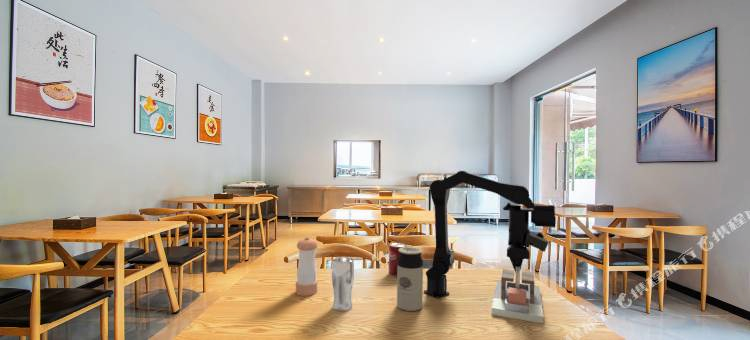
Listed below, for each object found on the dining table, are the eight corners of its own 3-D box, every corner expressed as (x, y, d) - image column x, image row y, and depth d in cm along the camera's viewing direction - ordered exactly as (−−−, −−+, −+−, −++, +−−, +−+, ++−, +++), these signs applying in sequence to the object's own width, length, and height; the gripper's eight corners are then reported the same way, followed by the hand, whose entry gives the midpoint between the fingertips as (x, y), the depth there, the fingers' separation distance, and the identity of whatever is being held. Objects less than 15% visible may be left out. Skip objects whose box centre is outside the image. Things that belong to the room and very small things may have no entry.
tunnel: (533, 304, 105) (534, 281, 105) (501, 298, 109) (501, 277, 109) (532, 293, 115) (533, 272, 115) (502, 288, 118) (502, 268, 118)
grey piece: (529, 313, 98) (530, 274, 98) (504, 309, 101) (505, 271, 101) (528, 303, 105) (529, 267, 105) (505, 300, 108) (506, 264, 108)
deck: (543, 323, 97) (543, 316, 97) (491, 314, 102) (491, 307, 102) (538, 291, 122) (538, 286, 122) (497, 285, 127) (497, 280, 127)
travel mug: (407, 299, 113) (408, 245, 113) (427, 306, 107) (428, 249, 107) (391, 306, 107) (392, 249, 107) (411, 314, 102) (412, 254, 102)
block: (526, 312, 99) (526, 295, 99) (507, 309, 101) (508, 292, 101) (525, 305, 104) (526, 289, 104) (508, 303, 106) (508, 287, 106)
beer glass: (357, 304, 108) (357, 257, 108) (348, 313, 102) (348, 263, 101) (337, 301, 110) (337, 255, 110) (327, 310, 104) (327, 261, 104)
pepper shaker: (291, 294, 116) (292, 238, 116) (303, 287, 123) (304, 234, 123) (309, 297, 114) (310, 240, 113) (321, 290, 120) (321, 236, 120)
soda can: (406, 271, 143) (406, 243, 142) (406, 277, 135) (406, 247, 135) (389, 270, 143) (389, 242, 143) (388, 276, 136) (388, 246, 136)
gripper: (549, 232, 96) (548, 287, 96) (544, 222, 113) (543, 268, 114) (507, 229, 100) (506, 281, 101) (508, 219, 118) (508, 264, 118)
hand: (517, 273), depth 108 cm, fingers closed
